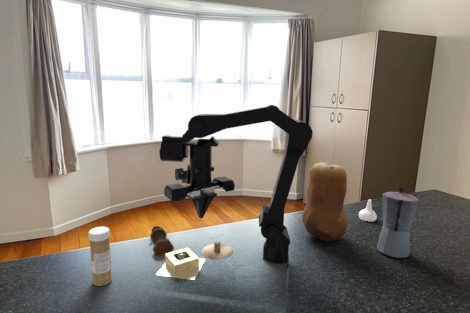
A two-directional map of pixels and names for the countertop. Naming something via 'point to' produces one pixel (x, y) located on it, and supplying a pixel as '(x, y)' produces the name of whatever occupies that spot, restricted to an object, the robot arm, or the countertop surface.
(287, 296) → the countertop surface
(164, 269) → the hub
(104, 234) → the sprinkles bottle
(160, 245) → the bolt
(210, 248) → the stand
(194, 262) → the brass square sleeve
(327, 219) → the butternut squash
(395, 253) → the moka pot
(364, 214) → the garlic bulb
